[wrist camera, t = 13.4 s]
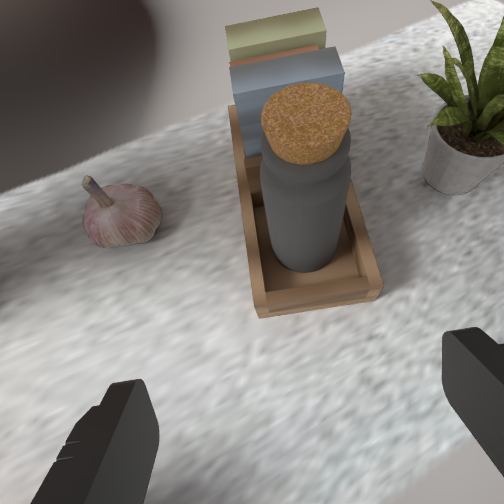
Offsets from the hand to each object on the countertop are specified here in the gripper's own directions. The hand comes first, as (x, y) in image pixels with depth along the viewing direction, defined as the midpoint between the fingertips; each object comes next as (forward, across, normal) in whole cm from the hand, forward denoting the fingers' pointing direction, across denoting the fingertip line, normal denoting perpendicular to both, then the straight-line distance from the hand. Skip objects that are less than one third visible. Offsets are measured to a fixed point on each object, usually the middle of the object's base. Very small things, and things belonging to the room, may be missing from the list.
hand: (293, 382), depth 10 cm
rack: (+27, -3, +2) cm, 27 cm away
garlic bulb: (+28, +14, +1) cm, 31 cm away
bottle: (+23, -3, +4) cm, 23 cm away
